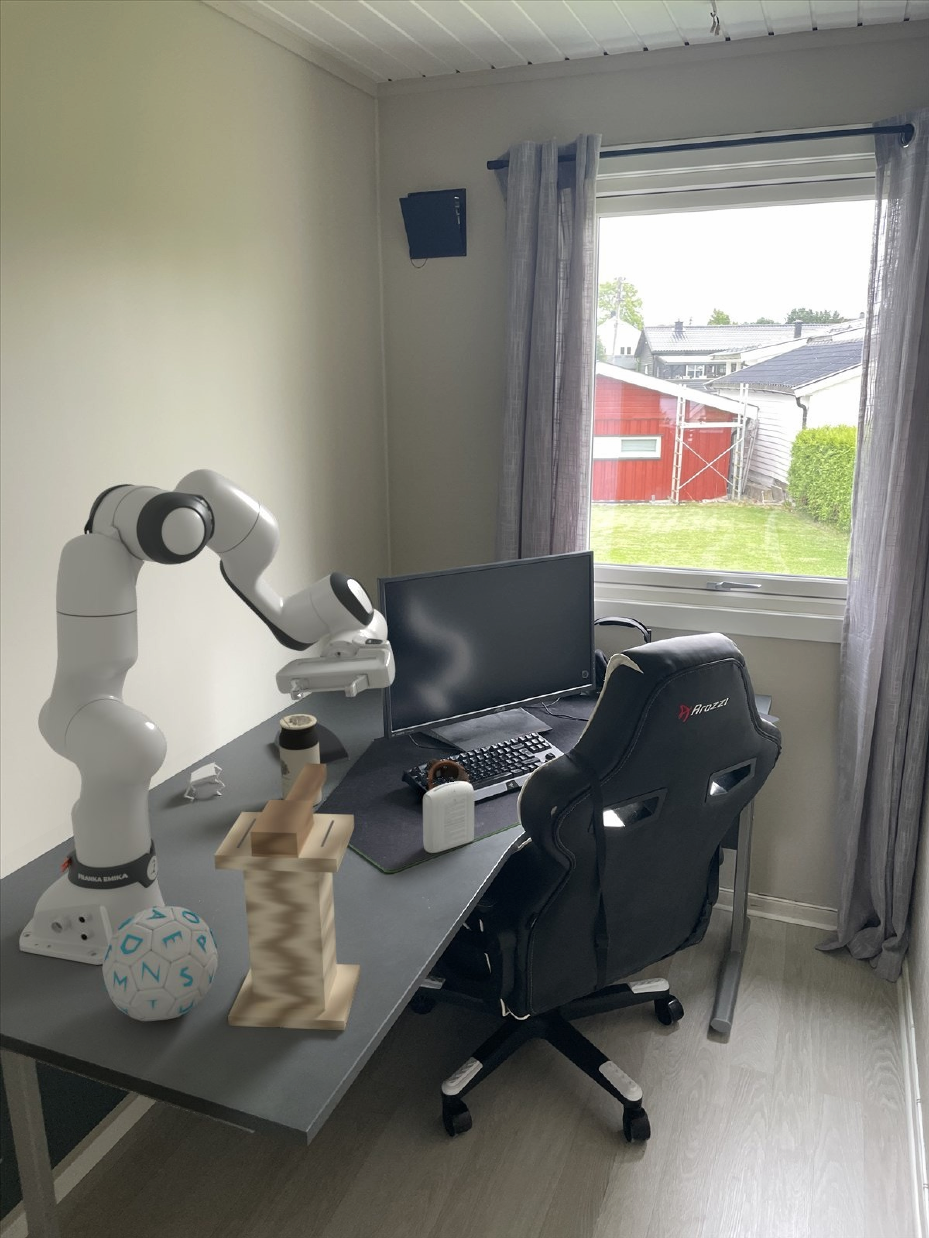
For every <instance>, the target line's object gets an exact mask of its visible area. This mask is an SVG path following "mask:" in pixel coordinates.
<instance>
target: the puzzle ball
mask: <svg viewBox="0 0 929 1238" xmlns="http://www.w3.org/2000/svg"><path fill="white" fill-rule="evenodd" d="M212 932H213V931H212V928H209V925H208V924H207V922H205V921H204V920H203V918H202V917H201V916H198V915H197V914H196V913H195V912H193V911H191V910H189V909H187V908H184V907H182V906H175V905H174V904H170V905H167V906H166V905H165V906H164V907H157V906H154V907H152V908H149V909H146V910H143V911H141V912H139V913H137V914H135V915H134V916H133V917H131V918H130V919H128V920H127V921H125V922H124V923H122V925H121V926H120V927H119V928H118V930H117V931H116V932H115V934H114V935H113V936H112V938H111V940H110V942H109V944H108V947H107V949H106V952H105V955H104V959H103V964H102V975H103V977H102V978H103V984H104V988H105V989H104V990H105V991H106V993H107V995H108V997H109V998H110V1000H111V1001H112V1003H113V1005H115V1006H116V1008H117V1009H118V1010H119V1011H121V1012H122V1013H124V1014H125V1015H127V1016H129V1017H130V1018H132V1019H134V1020H139V1021H141V1022H152V1021H163V1020H164V1021H165V1020H171V1019H176V1018H179V1017H181V1016H182V1015H184V1014H186V1013H188V1012H189V1011H190V1010H191V1009H193V1007H195V1006H196V1005H198V1004H199V1002H200V1001H201V1000H202V999H203V998H204V997H205V996H206V993H208V991H209V989H210V988H211V986H212V983H213V981H214V977H215V974H216V972H217V971H216V970H217V968H218V963H219V962H218V952H217V949H216V948H218V946H217V941H216V939H215V936H214V933H212Z"/></svg>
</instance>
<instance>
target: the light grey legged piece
mask: <svg viewBox="0 0 929 1238" xmlns="http://www.w3.org/2000/svg"><path fill="white" fill-rule="evenodd" d="M216 769H217V770H218V772H217V773H216ZM221 772H222V768H221V767H220V766H218V765H217V764H216V762H215V761H214V762H211V763H208V764H206V765H203V766H201V767H200V768H198V769H196V770H194V771H193V772H191V773H190V776H189V778H188V779H187V780H186V783H187V784H188V787H187V789H186V792H185V793H184V795H183V798H188V799H191V800H190V801H192V802H193V800H194V797H193V796H188V793H189V791H190V789H192V790H193V792H192V794H193V793H194V794H195V792H196V788H195V787H194V786H193V785H195V784H196V783H200V782H202V781H205V780H208V779H213V778H215V779H214V782H215V783H218V784H219V787H217V788H216V789H215V792H216V793H217V795H218V796H219V795H222V793H221V792H219V791H220V790H222V789H224V788H226V786H225V784H224V783H223V782H222V781H221V780H220V779H219V775H220V773H221Z"/></svg>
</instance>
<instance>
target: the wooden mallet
mask: <svg viewBox="0 0 929 1238" xmlns="http://www.w3.org/2000/svg"><path fill="white" fill-rule="evenodd" d="M327 778H328V775H327V766H326V764H309V763H306V764H305V766H304V767H303V769H302V771H301V773H300V774H299V776H298V778H297V780H296V781H295V783H294V785H293V787H292V788H291V790H290V792H289V794H288V796H287V797H286V799H285V800H283V799H269V800H268V802H267V803H266V804H265V806H264V808H263V810H262V813H261V815H260V816H259V818H258V820H257V821H256V823H255V825H254V826H253V828H252V830H251V831H250V835H251V848H252V854H251V855H252V857H285V858H298V857H299V855H300V853H301V851H302V849H303V847H304V845H305V842H306V840H307V838H308V836H309V834H310V832H311V830H312V828H313V825H314V818H313V814H314V806H313V804H314V802H315V800H316V798H317V796H318V794H319V792H320V790H321V791H322V788H323V785H324V784H325V782H326V780H327Z"/></svg>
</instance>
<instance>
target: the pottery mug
mask: <svg viewBox="0 0 929 1238" xmlns="http://www.w3.org/2000/svg"><path fill="white" fill-rule="evenodd" d="M427 767H428V769H429V771H428V774H427V779H428V780H427V783H428V784H427V785H428V790H427V792H428V791H430V790H431V789H433V788H435V787H437V786H440V785H441V784H438V783H435V782H434V780H436V779H438V778H442V777H443V778H445V777H453V778H457V779H456V780H455V781H454V782H456V781H463V780H464V781H465V782H468V783H469V784H471V782H470V780H469V778H470V776H469V774H468V773H467V772H466V771H467V770H466V769H465V767H463V766H462V765H460V764H458V762H455V761H454V760H446V759H445V760H439V759H437V758H431V759H430V760H429V761H428V763H427Z"/></svg>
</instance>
